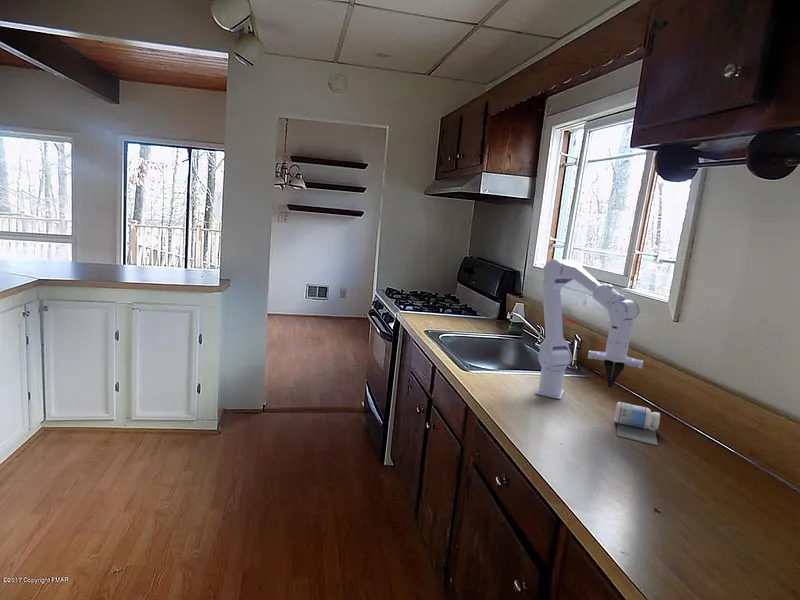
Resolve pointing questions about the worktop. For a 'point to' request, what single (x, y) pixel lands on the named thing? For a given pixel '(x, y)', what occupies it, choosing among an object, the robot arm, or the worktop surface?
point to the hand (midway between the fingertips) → (609, 386)
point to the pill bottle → (636, 416)
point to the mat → (637, 434)
